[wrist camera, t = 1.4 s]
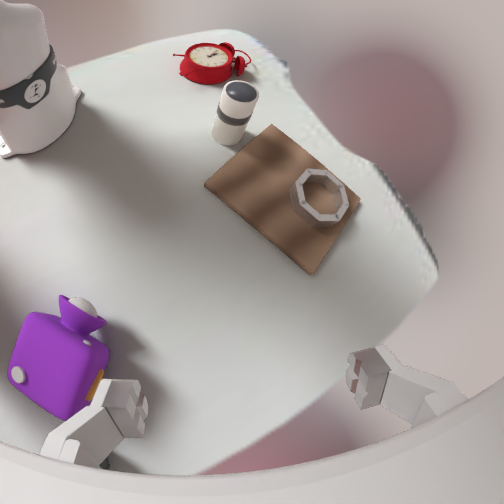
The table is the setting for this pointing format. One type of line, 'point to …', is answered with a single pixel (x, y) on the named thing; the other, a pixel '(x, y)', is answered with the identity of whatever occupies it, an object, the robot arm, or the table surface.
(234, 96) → the white lens
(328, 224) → the ring
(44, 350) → the toy camera
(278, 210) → the walnut mount plate
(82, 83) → the table surface
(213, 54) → the alarm clock
